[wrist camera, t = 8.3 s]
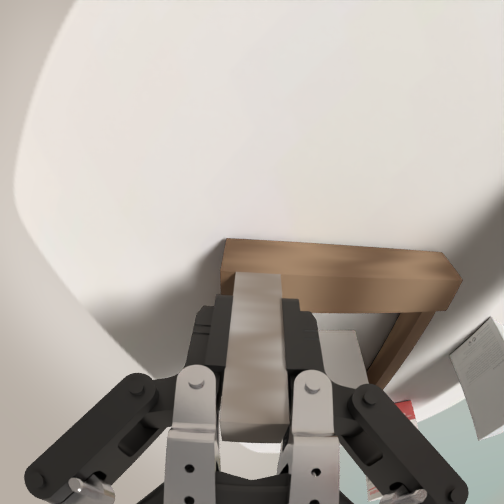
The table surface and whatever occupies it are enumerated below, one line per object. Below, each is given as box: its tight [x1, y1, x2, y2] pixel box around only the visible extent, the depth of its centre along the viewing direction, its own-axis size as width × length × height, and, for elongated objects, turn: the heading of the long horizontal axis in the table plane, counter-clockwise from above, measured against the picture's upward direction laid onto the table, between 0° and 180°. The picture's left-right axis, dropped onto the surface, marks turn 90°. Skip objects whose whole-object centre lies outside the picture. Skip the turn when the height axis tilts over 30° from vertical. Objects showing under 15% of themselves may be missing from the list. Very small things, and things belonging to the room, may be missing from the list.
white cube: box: [318, 330, 369, 389], centre depth 19 cm, size 6×6×6 cm
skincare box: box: [450, 317, 504, 440], centre depth 18 cm, size 10×6×10 cm, turn 64°
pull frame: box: [219, 238, 463, 443], centre depth 15 cm, size 13×15×10 cm
